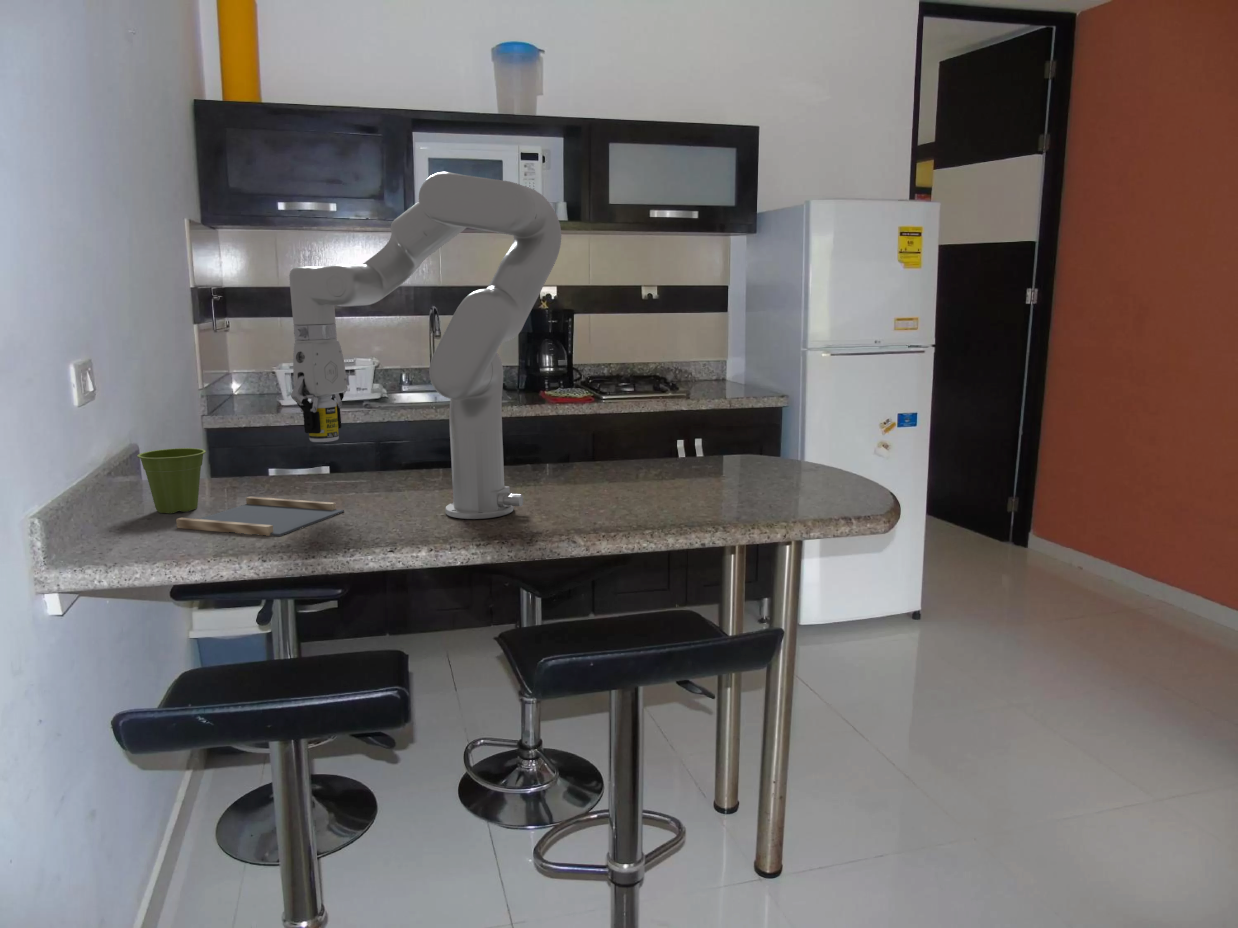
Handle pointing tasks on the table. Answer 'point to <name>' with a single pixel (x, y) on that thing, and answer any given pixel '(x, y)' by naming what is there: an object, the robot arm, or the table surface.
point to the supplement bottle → (326, 420)
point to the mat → (274, 516)
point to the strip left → (224, 526)
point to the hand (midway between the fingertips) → (323, 429)
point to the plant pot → (173, 477)
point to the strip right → (291, 503)
